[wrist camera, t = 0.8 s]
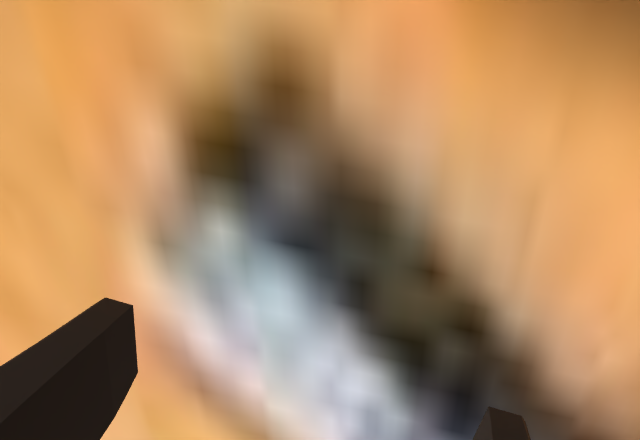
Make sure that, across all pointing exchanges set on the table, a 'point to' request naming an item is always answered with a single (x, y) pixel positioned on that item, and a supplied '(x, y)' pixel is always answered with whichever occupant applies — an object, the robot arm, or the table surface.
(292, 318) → the table surface
